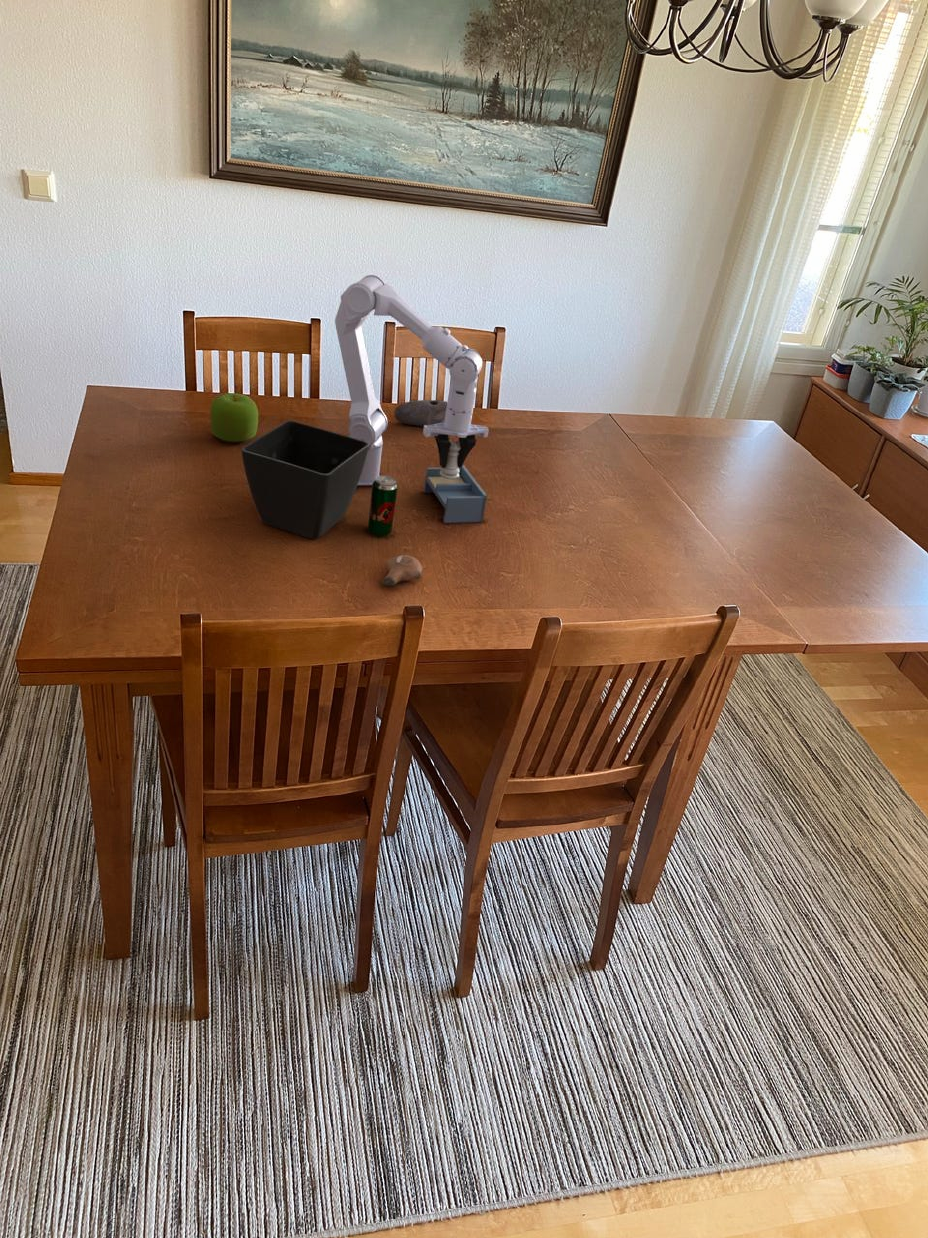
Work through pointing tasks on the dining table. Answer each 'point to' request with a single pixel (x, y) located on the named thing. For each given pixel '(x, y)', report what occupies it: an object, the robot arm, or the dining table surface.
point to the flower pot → (303, 476)
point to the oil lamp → (402, 570)
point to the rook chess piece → (451, 462)
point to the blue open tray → (457, 495)
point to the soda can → (382, 506)
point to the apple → (233, 417)
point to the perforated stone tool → (421, 412)
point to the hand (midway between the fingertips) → (450, 465)
